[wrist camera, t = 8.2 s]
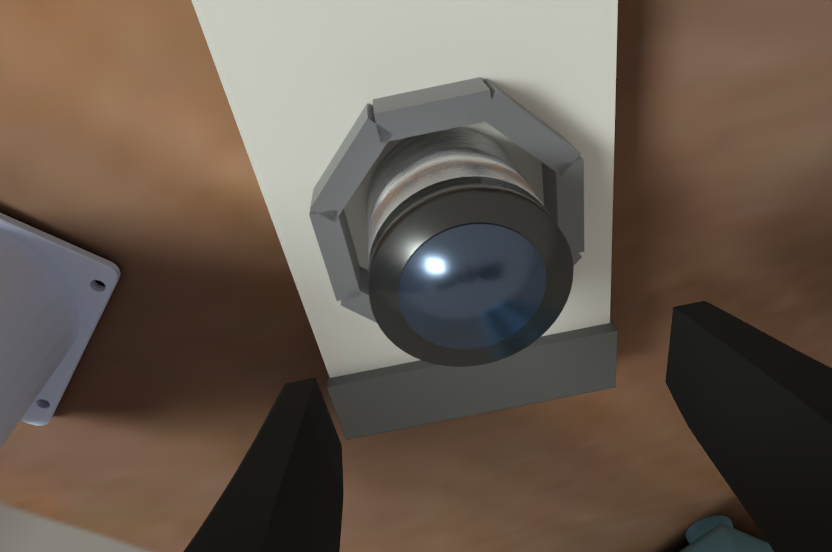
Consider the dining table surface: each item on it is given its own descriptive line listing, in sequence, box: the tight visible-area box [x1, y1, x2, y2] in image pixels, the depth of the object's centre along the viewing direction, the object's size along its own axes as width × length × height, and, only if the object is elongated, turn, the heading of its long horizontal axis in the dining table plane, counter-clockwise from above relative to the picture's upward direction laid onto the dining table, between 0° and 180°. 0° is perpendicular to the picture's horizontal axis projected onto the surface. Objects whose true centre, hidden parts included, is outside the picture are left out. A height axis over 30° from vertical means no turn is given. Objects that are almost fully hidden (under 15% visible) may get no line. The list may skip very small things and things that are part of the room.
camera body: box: [192, 0, 618, 439], centre depth 18 cm, size 18×11×4 cm, turn 10°
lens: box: [367, 127, 574, 367], centre depth 15 cm, size 5×5×5 cm
